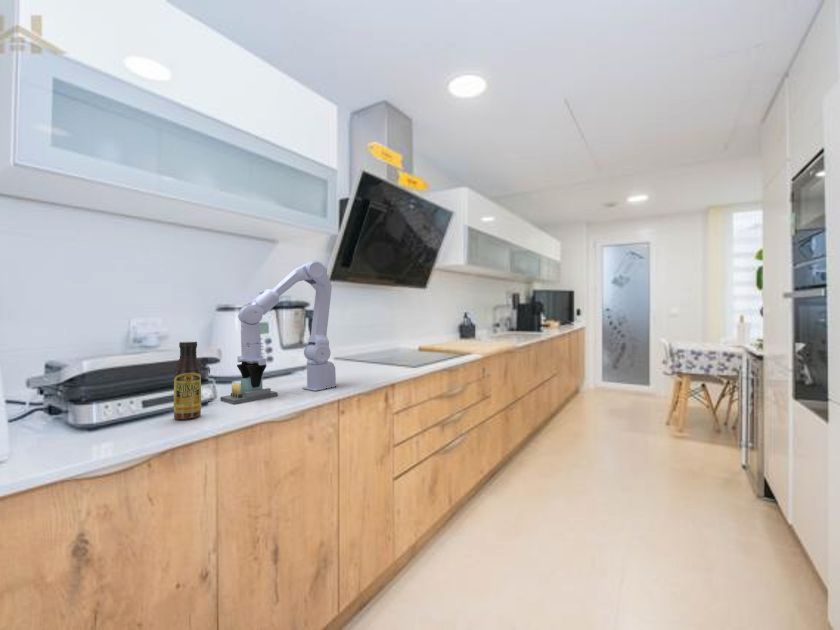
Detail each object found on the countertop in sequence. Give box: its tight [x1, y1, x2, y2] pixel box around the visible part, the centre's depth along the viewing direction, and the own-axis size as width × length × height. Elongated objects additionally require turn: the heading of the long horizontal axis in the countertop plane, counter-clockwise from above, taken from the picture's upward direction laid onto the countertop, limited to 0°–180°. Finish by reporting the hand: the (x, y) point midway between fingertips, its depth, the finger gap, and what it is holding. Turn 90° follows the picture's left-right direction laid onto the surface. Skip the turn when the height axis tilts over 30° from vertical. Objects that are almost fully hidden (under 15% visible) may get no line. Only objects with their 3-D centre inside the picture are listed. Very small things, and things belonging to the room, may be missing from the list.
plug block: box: [240, 377, 264, 395], centre depth 126 cm, size 5×4×6 cm
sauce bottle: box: [173, 340, 202, 421], centre depth 104 cm, size 6×6×20 cm
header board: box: [219, 382, 279, 406], centre depth 126 cm, size 14×9×5 cm, turn 141°
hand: (252, 386), depth 126 cm, fingers open, 4 cm apart
